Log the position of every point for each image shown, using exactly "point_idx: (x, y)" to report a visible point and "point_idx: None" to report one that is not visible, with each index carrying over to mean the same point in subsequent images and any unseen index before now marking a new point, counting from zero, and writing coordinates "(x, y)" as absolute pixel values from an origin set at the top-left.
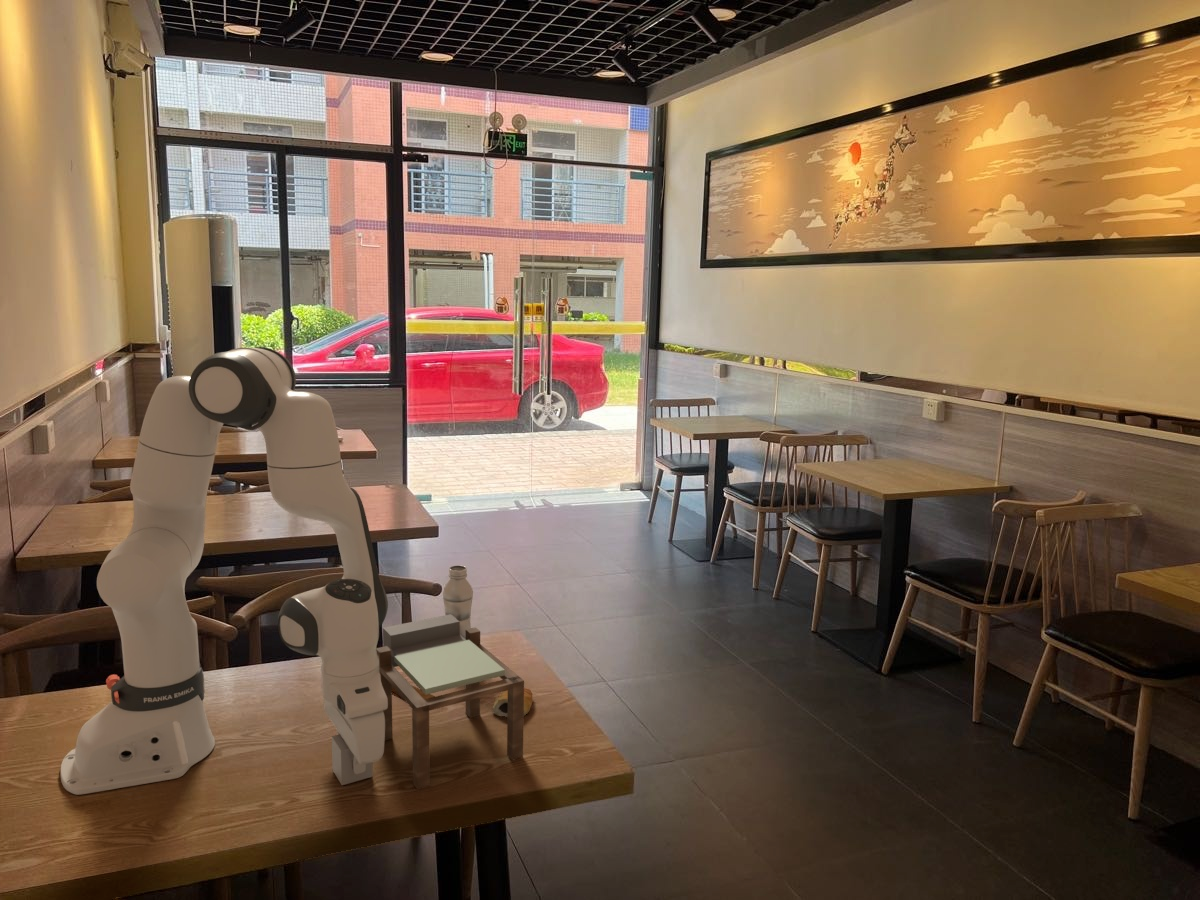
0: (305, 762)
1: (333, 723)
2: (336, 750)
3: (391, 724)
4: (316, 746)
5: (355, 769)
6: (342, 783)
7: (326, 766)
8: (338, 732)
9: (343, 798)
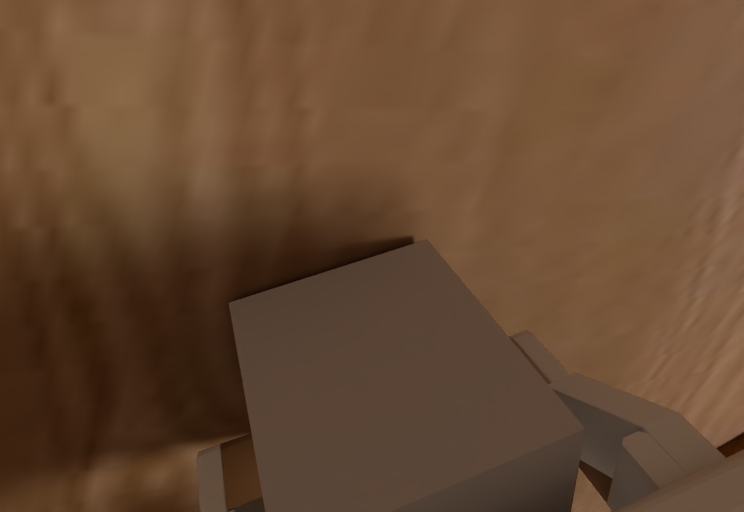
0: (600, 66)
1: (725, 491)
2: (404, 429)
3: (606, 498)
4: (709, 137)
5: (201, 481)
6: (233, 314)
7: (491, 198)
8: (632, 423)
9: (66, 320)
